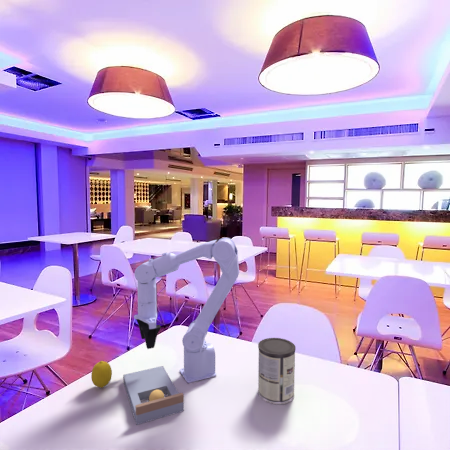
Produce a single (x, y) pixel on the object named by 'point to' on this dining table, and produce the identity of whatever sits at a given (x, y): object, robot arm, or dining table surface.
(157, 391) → the ball
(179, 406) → the grey piece
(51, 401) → the dining table surface
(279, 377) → the coffee can
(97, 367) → the lemon
